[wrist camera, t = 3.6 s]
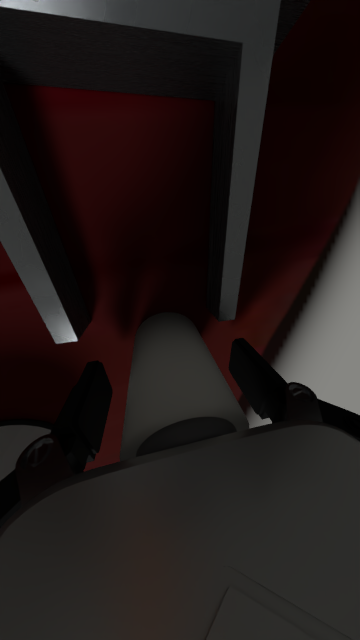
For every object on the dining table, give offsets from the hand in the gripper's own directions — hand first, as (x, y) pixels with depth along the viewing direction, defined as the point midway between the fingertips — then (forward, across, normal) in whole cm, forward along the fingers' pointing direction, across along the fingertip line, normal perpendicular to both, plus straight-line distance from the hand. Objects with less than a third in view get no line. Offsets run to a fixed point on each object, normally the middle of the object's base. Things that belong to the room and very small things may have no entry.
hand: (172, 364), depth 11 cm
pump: (+3, 0, 0) cm, 3 cm away
